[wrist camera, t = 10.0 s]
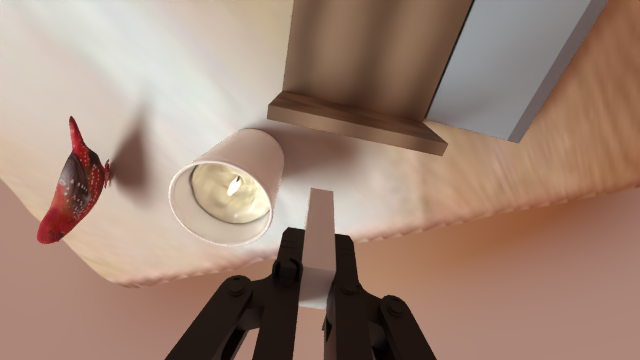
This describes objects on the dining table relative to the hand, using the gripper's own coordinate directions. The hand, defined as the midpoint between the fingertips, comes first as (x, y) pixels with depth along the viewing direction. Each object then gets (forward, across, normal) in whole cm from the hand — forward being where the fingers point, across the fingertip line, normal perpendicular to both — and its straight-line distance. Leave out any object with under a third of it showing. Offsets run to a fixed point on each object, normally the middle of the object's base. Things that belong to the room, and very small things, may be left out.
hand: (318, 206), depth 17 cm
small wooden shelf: (+17, +3, +11) cm, 21 cm away
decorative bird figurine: (+17, -29, -10) cm, 35 cm away
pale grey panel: (+14, +11, +11) cm, 21 cm away
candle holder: (+17, -8, -6) cm, 20 cm away
